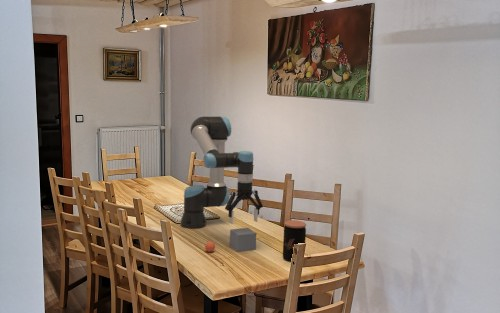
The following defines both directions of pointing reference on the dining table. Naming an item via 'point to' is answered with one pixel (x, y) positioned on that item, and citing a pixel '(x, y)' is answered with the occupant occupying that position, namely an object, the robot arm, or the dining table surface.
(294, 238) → the coffee jar
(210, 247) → the ball
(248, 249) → the rounded grey cube
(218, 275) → the dining table surface
